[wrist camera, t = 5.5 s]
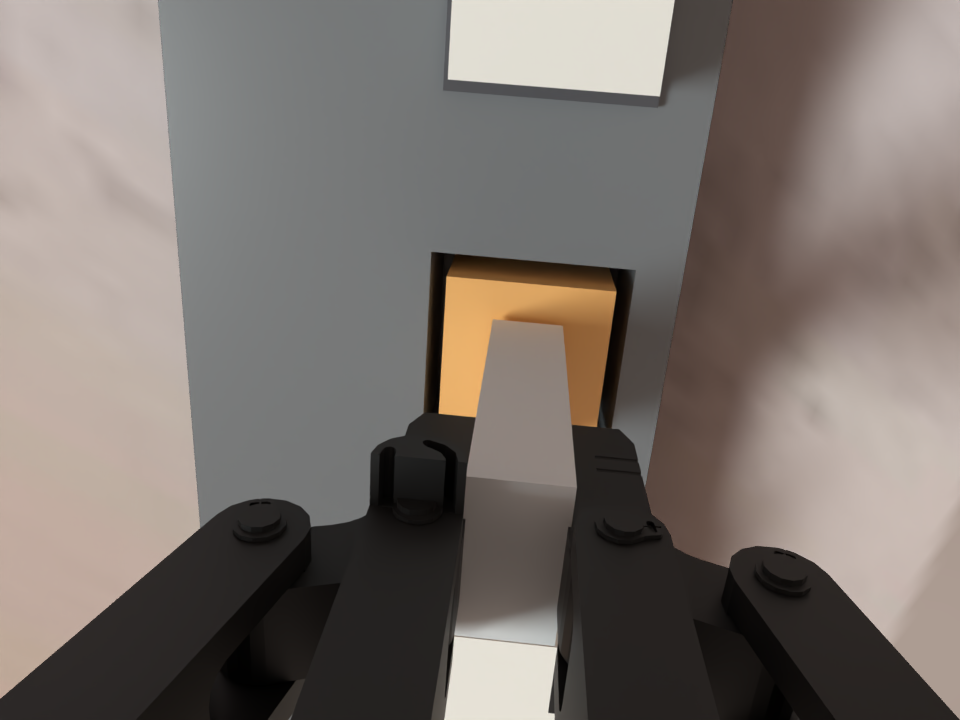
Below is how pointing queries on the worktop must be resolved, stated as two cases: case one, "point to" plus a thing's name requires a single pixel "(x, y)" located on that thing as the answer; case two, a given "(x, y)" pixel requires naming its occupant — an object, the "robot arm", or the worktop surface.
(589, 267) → the button orange
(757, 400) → the worktop surface
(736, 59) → the worktop surface
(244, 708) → the robot arm
